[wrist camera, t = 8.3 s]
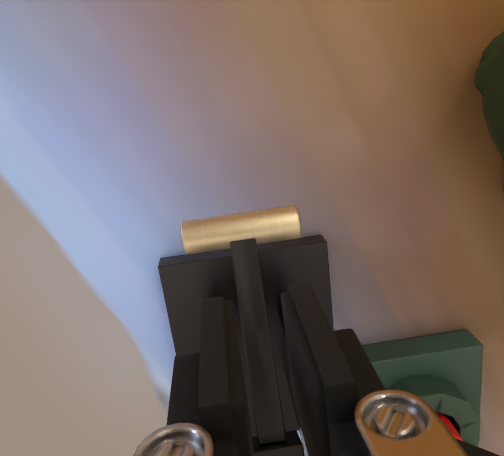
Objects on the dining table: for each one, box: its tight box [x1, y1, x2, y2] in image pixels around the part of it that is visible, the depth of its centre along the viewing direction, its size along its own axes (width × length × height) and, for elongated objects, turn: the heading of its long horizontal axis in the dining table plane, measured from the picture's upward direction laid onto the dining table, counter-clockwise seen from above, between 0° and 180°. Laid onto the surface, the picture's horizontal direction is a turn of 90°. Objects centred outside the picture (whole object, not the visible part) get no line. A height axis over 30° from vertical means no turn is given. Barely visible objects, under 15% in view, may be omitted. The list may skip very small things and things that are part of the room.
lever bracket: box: [158, 235, 334, 456], centre depth 22 cm, size 12×9×12 cm
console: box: [362, 329, 483, 447], centre depth 28 cm, size 9×8×4 cm
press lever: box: [181, 206, 305, 456], centre depth 19 cm, size 12×5×2 cm, turn 7°
